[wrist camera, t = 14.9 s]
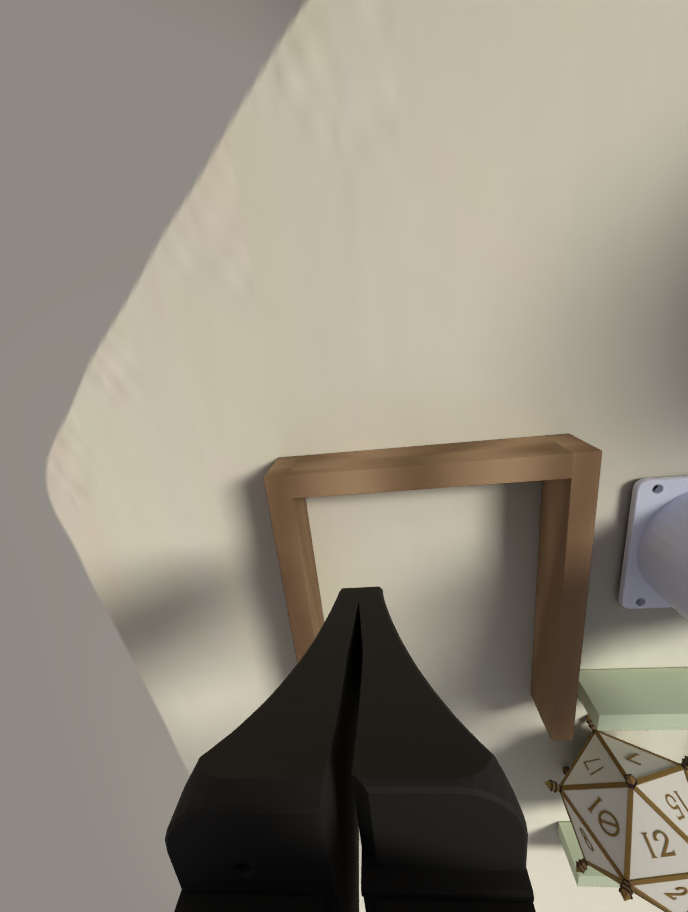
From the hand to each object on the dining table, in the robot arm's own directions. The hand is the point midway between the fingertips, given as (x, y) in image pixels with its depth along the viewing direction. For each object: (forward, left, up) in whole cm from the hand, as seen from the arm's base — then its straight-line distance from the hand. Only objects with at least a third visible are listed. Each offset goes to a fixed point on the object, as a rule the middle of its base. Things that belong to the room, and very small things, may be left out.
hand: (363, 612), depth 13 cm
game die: (-14, +20, -10) cm, 26 cm away
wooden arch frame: (-3, +6, -9) cm, 12 cm away
